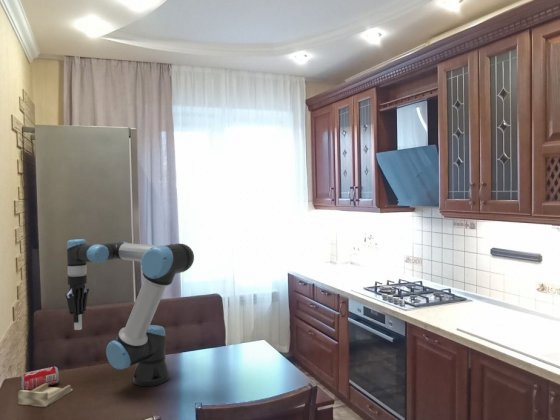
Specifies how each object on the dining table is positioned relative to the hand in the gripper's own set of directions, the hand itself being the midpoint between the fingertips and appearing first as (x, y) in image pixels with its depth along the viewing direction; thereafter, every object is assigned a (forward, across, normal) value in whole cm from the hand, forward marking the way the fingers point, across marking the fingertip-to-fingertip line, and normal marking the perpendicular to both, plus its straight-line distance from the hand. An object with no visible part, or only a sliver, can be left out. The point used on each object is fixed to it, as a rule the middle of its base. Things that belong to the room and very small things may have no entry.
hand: (78, 329), depth 187 cm
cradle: (+22, +18, -1) cm, 28 cm away
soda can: (+18, +6, -6) cm, 20 cm away
